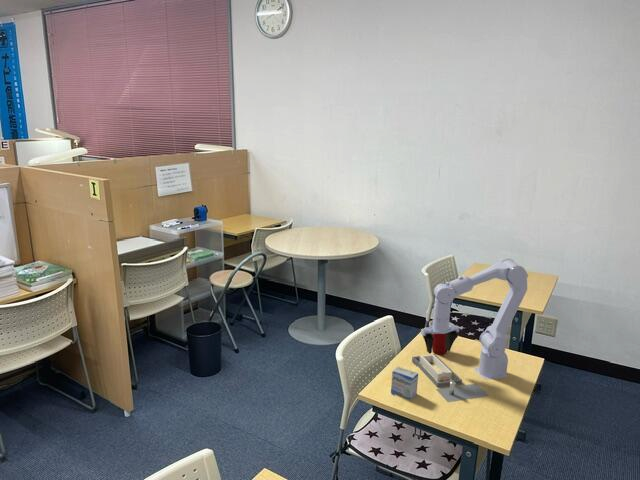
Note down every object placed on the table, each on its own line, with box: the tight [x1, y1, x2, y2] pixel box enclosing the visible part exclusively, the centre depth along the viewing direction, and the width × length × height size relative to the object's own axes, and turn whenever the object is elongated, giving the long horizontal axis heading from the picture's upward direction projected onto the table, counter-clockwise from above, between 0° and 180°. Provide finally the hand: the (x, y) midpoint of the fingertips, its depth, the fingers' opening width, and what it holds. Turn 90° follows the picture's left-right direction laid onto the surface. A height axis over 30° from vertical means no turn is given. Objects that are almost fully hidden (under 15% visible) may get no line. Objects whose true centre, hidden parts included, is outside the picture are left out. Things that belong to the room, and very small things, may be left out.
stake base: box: [435, 378, 490, 403], centre depth 162 cm, size 16×8×6 cm, turn 105°
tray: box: [411, 353, 463, 388], centre depth 176 cm, size 10×20×2 cm, turn 15°
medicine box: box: [390, 366, 419, 400], centre depth 161 cm, size 8×4×9 cm, turn 55°
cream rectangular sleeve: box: [419, 353, 453, 382], centre depth 176 cm, size 16×6×3 cm, turn 15°
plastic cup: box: [428, 319, 455, 356], centre depth 191 cm, size 11×11×12 cm
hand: (438, 351), depth 173 cm, fingers open, 7 cm apart
